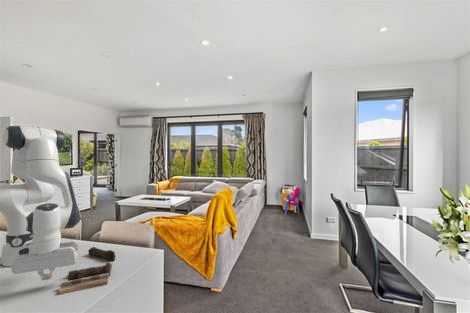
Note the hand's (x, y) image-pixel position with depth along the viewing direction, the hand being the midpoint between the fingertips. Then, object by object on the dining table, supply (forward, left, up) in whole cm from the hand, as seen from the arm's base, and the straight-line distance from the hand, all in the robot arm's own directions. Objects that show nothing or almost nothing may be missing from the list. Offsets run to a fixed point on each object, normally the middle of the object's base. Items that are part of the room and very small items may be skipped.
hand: (46, 279), depth 87 cm
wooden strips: (0, +14, -3) cm, 15 cm away
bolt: (0, +15, -3) cm, 15 cm away
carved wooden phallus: (-21, +17, -3) cm, 27 cm away
